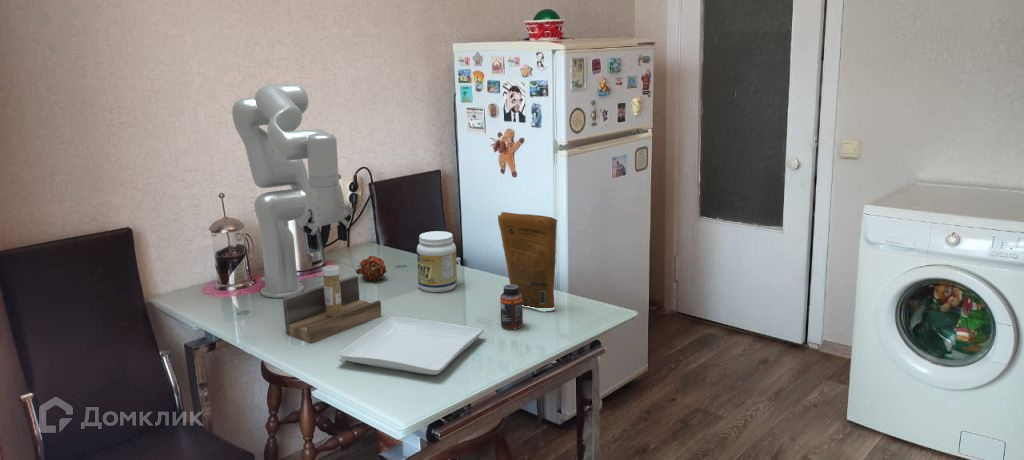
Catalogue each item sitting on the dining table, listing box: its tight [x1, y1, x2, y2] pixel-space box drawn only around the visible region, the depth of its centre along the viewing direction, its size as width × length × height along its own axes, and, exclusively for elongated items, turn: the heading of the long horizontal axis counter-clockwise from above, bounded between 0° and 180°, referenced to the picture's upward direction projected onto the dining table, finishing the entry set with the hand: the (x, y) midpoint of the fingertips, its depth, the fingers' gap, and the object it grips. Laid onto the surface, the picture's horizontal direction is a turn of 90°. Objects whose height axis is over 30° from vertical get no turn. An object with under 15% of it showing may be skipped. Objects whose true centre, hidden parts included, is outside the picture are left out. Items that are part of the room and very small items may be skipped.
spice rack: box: [282, 275, 382, 344], centre depth 199 cm, size 11×24×10 cm, turn 142°
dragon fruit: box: [355, 255, 388, 282], centre depth 238 cm, size 8×8×12 cm
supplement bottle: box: [499, 283, 524, 330], centre depth 196 cm, size 6×6×11 cm
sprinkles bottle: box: [321, 264, 342, 317], centre depth 198 cm, size 5×5×13 cm
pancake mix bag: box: [497, 211, 558, 308], centre depth 209 cm, size 7×19×28 cm, turn 51°
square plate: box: [337, 316, 485, 376], centre depth 181 cm, size 27×27×4 cm
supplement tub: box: [416, 230, 458, 293], centre depth 228 cm, size 12×12×17 cm
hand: (328, 244), depth 195 cm, fingers open, 9 cm apart
